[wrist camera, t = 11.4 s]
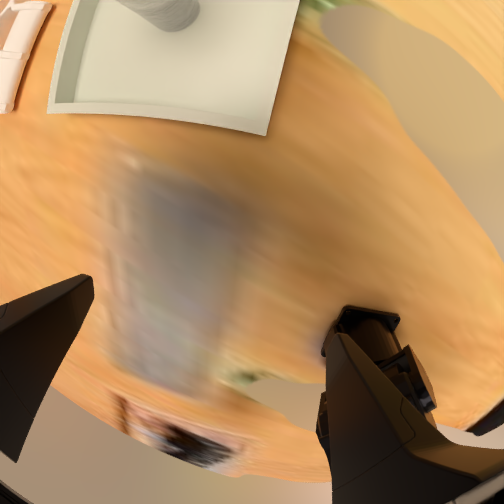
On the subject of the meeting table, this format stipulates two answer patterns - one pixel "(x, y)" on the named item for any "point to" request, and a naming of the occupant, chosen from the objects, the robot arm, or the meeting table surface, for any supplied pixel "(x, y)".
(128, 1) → the grey cylinder
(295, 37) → the meeting table surface
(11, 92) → the white brass knuckles
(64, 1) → the meeting table surface
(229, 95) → the tray
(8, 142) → the meeting table surface
